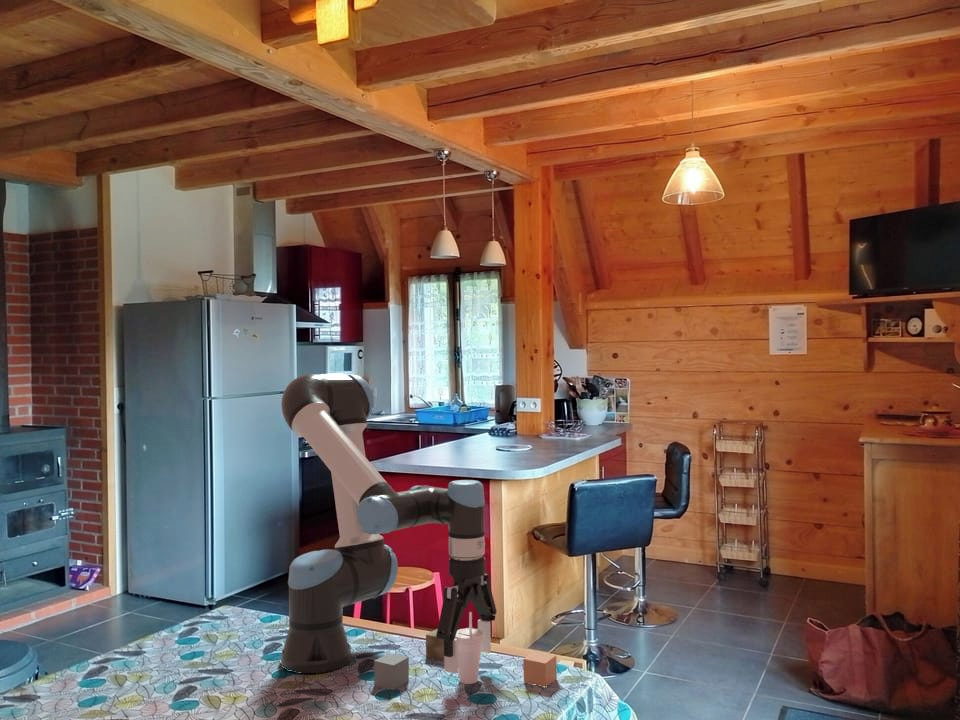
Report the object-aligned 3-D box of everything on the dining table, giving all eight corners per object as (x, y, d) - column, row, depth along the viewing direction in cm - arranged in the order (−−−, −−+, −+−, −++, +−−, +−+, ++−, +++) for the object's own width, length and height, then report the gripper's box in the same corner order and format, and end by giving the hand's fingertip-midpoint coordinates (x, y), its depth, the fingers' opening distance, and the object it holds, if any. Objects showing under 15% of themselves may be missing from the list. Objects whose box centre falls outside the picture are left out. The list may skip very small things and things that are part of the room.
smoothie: (480, 687, 151) (479, 617, 151) (449, 685, 152) (448, 616, 152) (486, 675, 157) (485, 608, 157) (457, 673, 158) (456, 606, 158)
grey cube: (374, 685, 153) (374, 660, 153) (389, 676, 157) (389, 652, 157) (393, 690, 150) (393, 665, 150) (408, 681, 154) (408, 657, 154)
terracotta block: (523, 683, 153) (523, 658, 153) (535, 675, 157) (534, 651, 157) (545, 688, 150) (545, 663, 150) (556, 679, 154) (556, 655, 154)
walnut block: (426, 656, 168) (425, 634, 168) (438, 650, 172) (438, 628, 172) (444, 661, 165) (444, 638, 166) (456, 654, 170) (456, 631, 170)
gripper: (449, 571, 143) (450, 685, 142) (511, 546, 163) (512, 646, 163) (417, 566, 147) (418, 677, 146) (482, 542, 167) (483, 640, 167)
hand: (468, 661), depth 154 cm, fingers open, 12 cm apart
